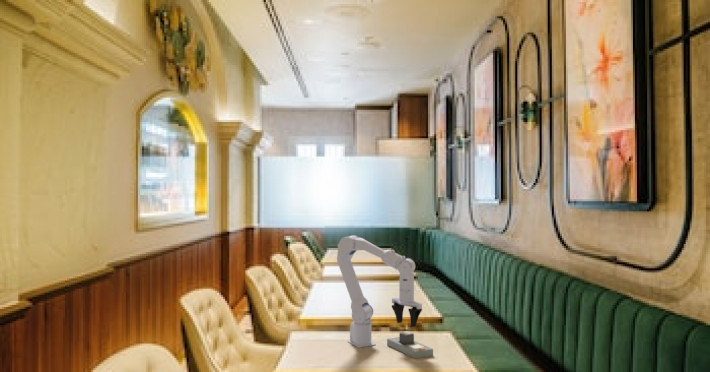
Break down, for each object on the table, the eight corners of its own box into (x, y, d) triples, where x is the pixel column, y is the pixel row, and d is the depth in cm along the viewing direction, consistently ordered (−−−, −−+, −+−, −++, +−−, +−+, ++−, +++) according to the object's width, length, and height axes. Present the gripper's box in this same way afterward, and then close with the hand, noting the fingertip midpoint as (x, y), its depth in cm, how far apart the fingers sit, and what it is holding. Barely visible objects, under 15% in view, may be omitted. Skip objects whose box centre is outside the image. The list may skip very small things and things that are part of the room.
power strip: (387, 345, 213) (387, 337, 213) (403, 342, 217) (403, 335, 217) (415, 358, 195) (415, 350, 196) (433, 355, 199) (433, 347, 199)
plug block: (399, 347, 208) (399, 332, 209) (407, 346, 211) (407, 330, 211) (406, 350, 205) (406, 334, 205) (413, 348, 207) (413, 333, 208)
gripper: (386, 288, 212) (386, 322, 212) (412, 293, 201) (412, 329, 200) (399, 286, 216) (399, 319, 216) (425, 291, 205) (425, 326, 205)
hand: (406, 324), depth 209 cm, fingers open, 7 cm apart
